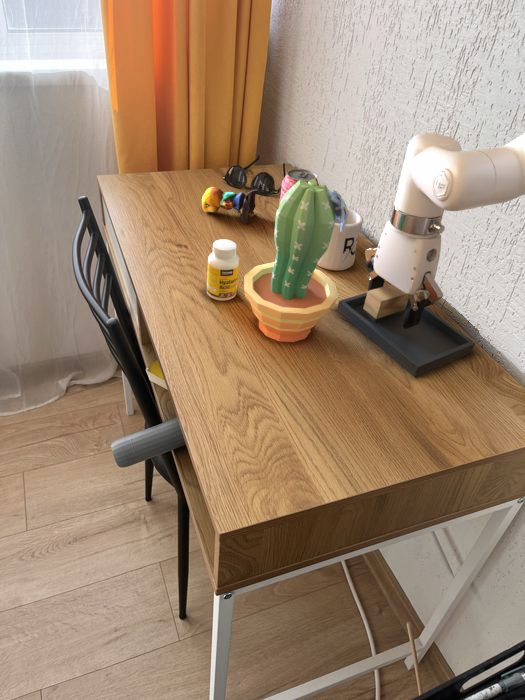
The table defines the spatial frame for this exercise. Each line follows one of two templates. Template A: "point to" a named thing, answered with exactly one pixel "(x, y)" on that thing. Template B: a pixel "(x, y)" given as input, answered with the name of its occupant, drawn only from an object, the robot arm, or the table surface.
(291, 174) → the beverage can
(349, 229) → the mug
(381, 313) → the wooden block
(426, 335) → the tray
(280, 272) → the potted cactus
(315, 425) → the table surface
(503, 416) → the table surface
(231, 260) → the supplement bottle
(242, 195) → the figurine
